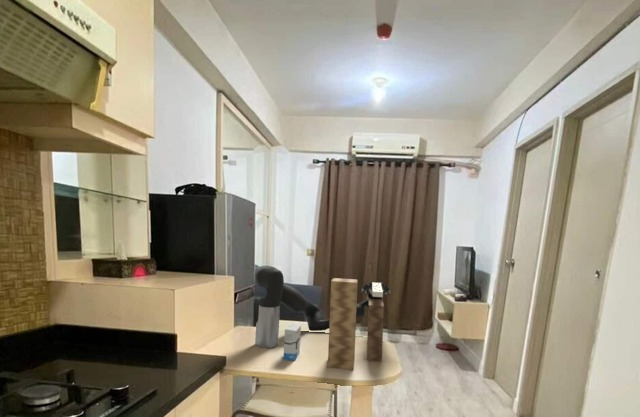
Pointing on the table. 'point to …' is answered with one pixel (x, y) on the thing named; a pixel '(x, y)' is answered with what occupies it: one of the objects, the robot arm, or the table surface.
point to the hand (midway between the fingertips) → (376, 284)
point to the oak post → (342, 323)
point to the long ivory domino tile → (377, 290)
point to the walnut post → (375, 330)
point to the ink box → (292, 342)
